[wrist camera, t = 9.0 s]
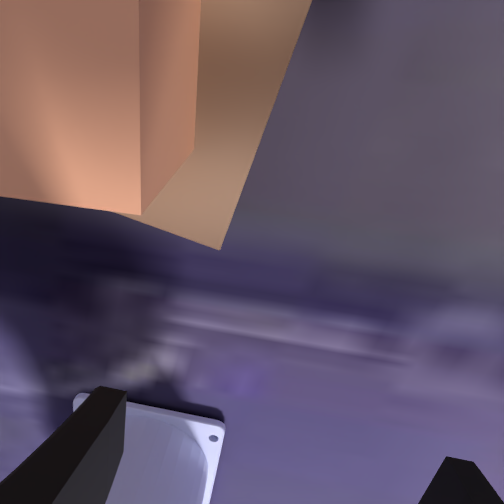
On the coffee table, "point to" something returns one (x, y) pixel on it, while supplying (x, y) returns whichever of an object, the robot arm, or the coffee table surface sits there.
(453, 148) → the coffee table surface
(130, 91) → the terracotta cube
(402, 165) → the coffee table surface
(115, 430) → the robot arm
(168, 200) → the walnut block
